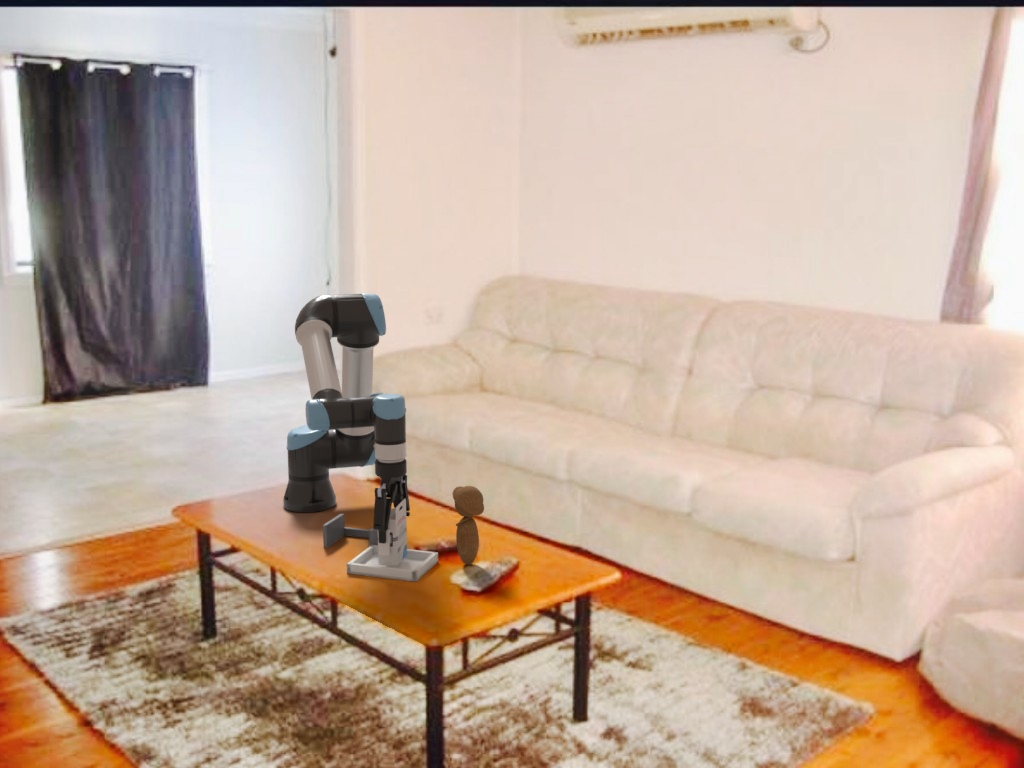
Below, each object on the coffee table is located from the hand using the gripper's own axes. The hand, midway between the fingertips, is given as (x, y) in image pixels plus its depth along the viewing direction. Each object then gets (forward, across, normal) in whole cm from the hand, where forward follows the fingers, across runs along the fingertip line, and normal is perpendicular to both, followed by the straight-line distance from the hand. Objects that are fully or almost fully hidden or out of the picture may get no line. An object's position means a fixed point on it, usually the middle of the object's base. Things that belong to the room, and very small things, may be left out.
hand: (392, 548), depth 252 cm
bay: (+5, -12, -16) cm, 21 cm away
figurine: (+5, -7, +17) cm, 19 cm away
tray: (+5, 0, 0) cm, 5 cm away
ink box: (+3, 0, 0) cm, 3 cm away
